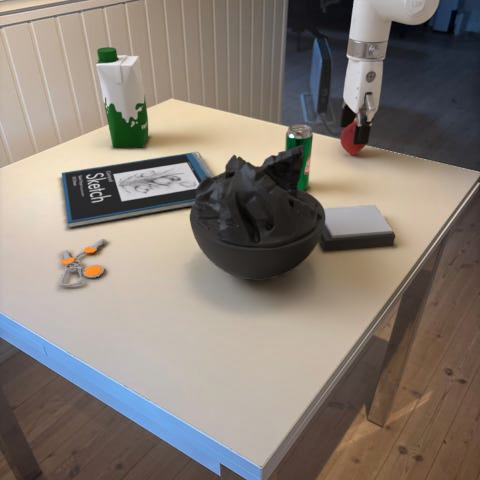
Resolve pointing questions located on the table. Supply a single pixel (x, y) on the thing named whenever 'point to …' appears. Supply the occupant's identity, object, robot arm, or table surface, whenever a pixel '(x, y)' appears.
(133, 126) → the milk carton
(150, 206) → the sketchbook
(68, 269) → the key chain
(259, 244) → the coal bowl
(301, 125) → the soda can
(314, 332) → the table surface
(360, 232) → the scale
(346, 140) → the onion
